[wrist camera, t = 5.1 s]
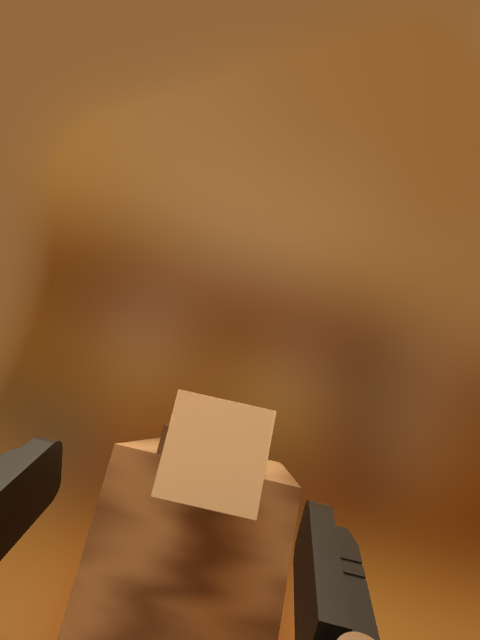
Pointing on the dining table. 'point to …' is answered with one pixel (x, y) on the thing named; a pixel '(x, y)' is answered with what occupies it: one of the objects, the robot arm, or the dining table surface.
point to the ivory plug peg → (215, 455)
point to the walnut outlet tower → (180, 560)
